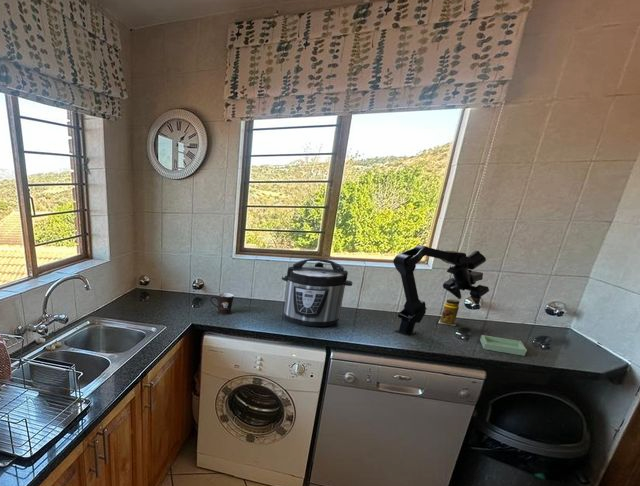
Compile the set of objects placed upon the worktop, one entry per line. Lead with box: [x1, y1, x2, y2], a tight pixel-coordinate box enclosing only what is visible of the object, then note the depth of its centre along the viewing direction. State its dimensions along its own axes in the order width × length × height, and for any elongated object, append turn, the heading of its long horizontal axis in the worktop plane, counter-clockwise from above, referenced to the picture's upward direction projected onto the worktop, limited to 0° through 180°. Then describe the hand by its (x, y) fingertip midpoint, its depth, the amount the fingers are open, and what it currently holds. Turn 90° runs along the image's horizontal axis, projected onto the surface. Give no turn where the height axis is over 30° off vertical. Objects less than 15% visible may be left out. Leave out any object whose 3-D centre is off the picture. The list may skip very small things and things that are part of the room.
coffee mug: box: [209, 292, 235, 315], centre depth 219 cm, size 12×9×10 cm
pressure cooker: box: [281, 258, 353, 328], centre depth 203 cm, size 30×28×32 cm
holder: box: [479, 334, 528, 357], centre depth 174 cm, size 14×13×3 cm
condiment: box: [438, 298, 460, 327], centre depth 205 cm, size 7×8×12 cm
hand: (468, 301), depth 192 cm, fingers open, 9 cm apart
